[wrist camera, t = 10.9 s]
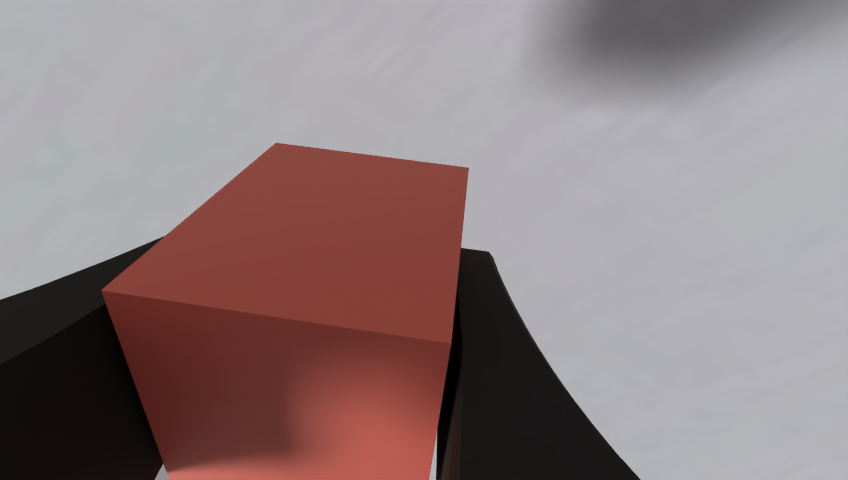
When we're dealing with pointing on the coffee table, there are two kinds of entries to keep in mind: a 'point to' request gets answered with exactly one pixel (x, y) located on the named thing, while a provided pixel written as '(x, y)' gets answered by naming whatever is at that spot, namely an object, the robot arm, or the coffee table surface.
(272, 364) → the block
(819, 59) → the coffee table surface
